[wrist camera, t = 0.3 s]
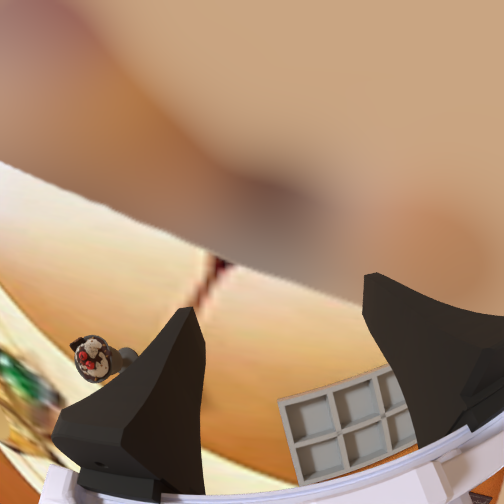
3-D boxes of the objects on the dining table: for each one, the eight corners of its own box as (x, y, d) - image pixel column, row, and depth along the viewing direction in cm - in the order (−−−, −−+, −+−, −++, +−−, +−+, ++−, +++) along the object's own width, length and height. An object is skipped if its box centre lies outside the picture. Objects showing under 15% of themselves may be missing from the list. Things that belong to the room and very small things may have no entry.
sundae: (149, 378, 39) (96, 380, 25) (115, 384, 39) (57, 385, 25) (140, 339, 42) (86, 324, 28) (107, 346, 42) (49, 334, 28)
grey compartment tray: (422, 432, 32) (430, 435, 29) (298, 479, 32) (299, 486, 29) (406, 355, 38) (414, 354, 35) (277, 399, 37) (277, 402, 34)
